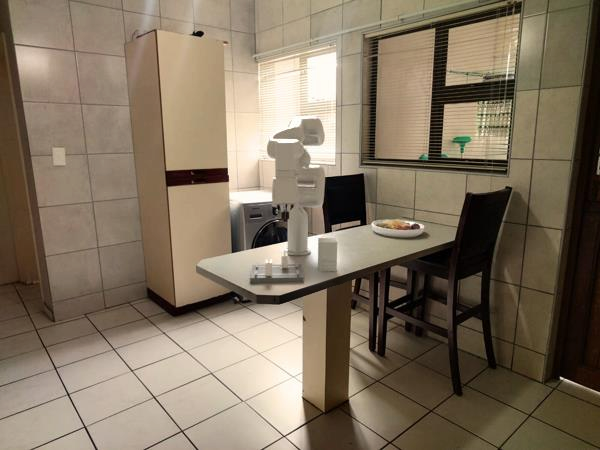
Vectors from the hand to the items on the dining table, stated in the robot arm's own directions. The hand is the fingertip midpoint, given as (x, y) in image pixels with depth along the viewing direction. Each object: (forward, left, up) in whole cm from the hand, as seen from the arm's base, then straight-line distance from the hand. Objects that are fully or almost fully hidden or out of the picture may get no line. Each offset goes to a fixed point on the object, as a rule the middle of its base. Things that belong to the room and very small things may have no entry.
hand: (285, 221), depth 157 cm
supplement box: (-6, +18, -22) cm, 29 cm away
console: (+2, -3, -22) cm, 22 cm away
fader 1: (+7, -6, -19) cm, 21 cm away
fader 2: (-2, 0, -19) cm, 19 cm away
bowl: (-72, +68, -22) cm, 101 cm away
